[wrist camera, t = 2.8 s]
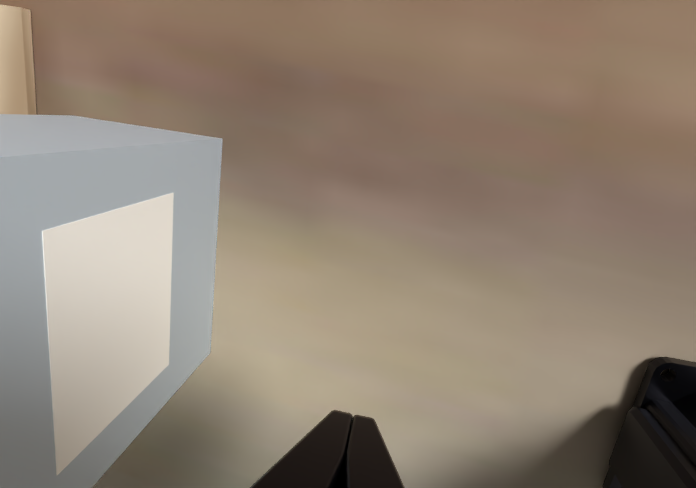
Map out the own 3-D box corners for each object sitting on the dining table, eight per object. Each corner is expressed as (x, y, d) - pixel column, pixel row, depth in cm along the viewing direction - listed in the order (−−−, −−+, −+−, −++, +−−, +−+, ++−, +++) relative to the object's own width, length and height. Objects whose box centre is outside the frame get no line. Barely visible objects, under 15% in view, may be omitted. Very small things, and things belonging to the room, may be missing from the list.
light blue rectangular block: (223, 138, 16) (-41, 160, 7) (211, 352, 19) (6, 586, 9) (74, 115, 17) (-362, 106, 7) (81, 326, 20) (-237, 521, 10)
